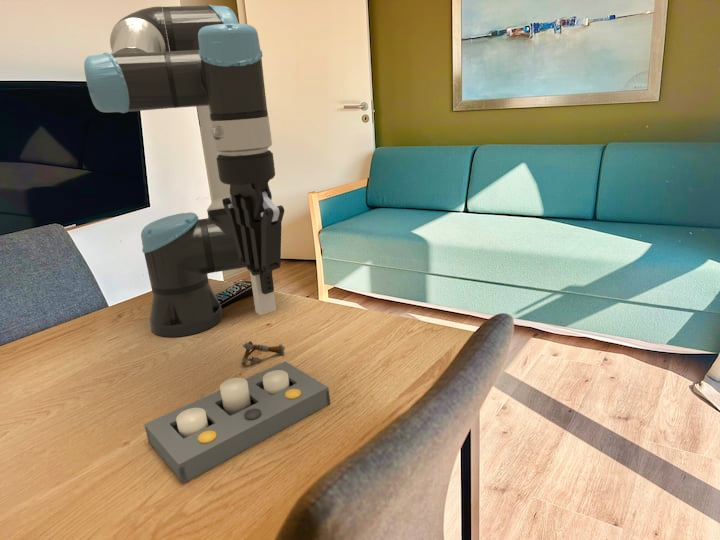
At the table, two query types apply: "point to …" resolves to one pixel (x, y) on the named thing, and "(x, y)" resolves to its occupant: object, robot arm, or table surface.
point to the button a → (191, 421)
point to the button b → (235, 395)
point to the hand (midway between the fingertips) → (266, 310)
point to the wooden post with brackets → (262, 348)
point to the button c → (275, 381)
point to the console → (235, 423)
